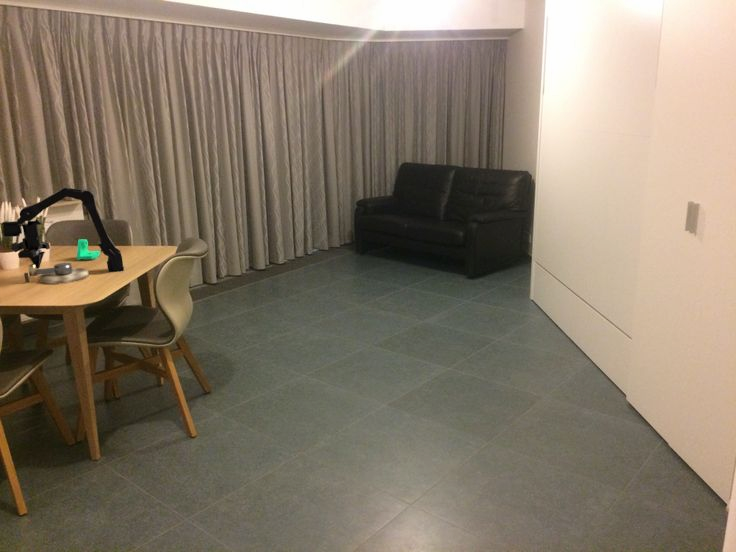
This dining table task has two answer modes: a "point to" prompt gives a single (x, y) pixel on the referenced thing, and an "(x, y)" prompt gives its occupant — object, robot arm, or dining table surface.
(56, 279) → the leveling base
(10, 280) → the dining table surface
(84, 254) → the camera mount
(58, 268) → the knob
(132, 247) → the dining table surface
